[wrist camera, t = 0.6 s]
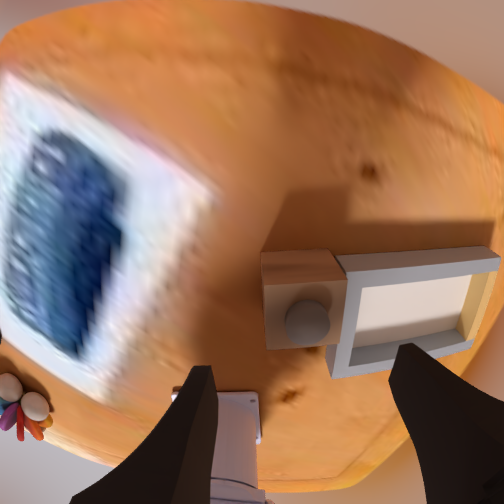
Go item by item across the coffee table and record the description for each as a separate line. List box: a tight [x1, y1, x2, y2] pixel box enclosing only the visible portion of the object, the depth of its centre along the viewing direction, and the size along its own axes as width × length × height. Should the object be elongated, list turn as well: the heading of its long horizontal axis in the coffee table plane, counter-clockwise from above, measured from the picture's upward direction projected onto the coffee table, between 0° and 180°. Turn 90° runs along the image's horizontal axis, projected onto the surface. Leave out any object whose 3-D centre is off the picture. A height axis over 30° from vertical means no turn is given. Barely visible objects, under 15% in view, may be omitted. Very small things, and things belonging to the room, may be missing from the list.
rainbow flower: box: [0, 373, 53, 441], centre depth 24 cm, size 8×10×7 cm
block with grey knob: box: [261, 248, 348, 350], centre depth 18 cm, size 4×4×6 cm
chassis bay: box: [325, 246, 501, 379], centre depth 20 cm, size 9×14×2 cm, turn 93°
